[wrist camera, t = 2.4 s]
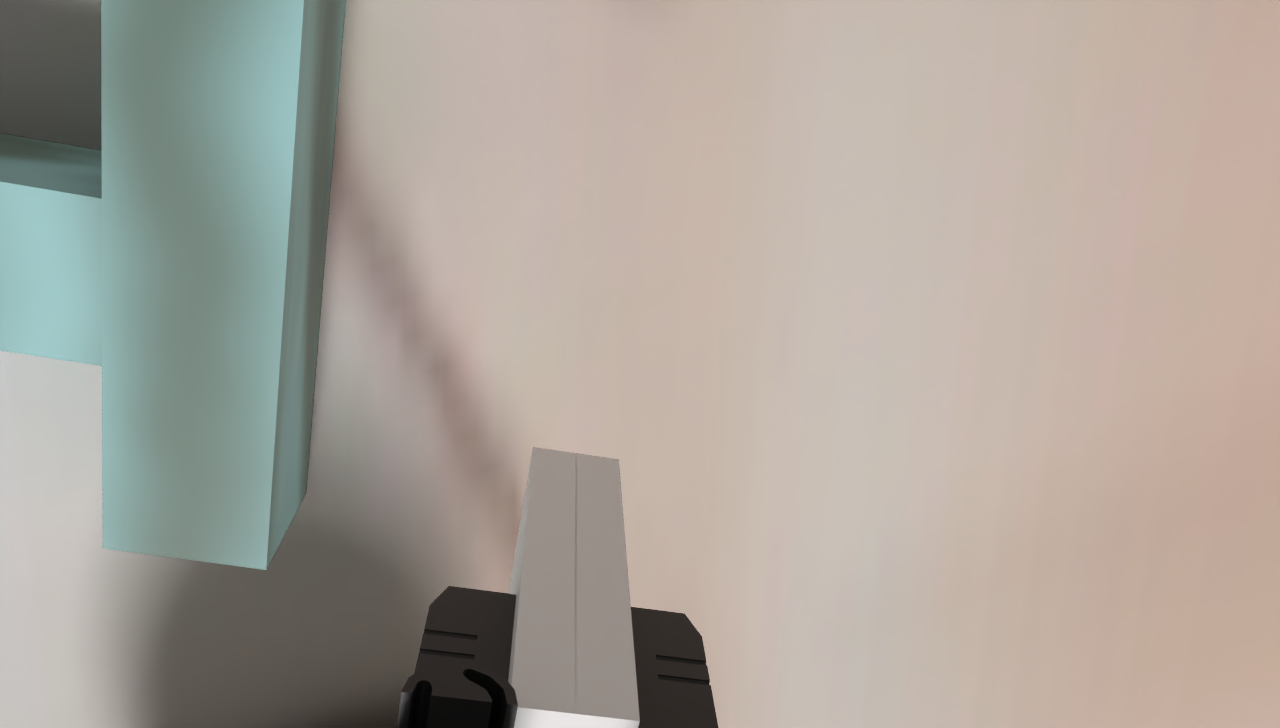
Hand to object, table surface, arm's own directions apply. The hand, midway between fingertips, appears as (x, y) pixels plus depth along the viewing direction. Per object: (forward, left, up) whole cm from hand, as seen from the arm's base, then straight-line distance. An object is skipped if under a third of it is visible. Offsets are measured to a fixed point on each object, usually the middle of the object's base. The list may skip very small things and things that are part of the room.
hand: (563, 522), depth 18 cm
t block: (+14, 0, -11) cm, 18 cm away
